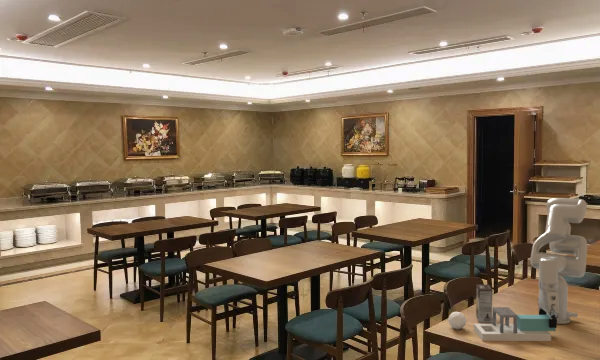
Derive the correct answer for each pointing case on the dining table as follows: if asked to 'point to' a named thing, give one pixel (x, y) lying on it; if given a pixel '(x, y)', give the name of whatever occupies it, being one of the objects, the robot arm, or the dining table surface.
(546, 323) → the block
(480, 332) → the white base plate
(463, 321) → the geometric ball
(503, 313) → the tunnel
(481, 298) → the coffee box
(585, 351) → the dining table surface
